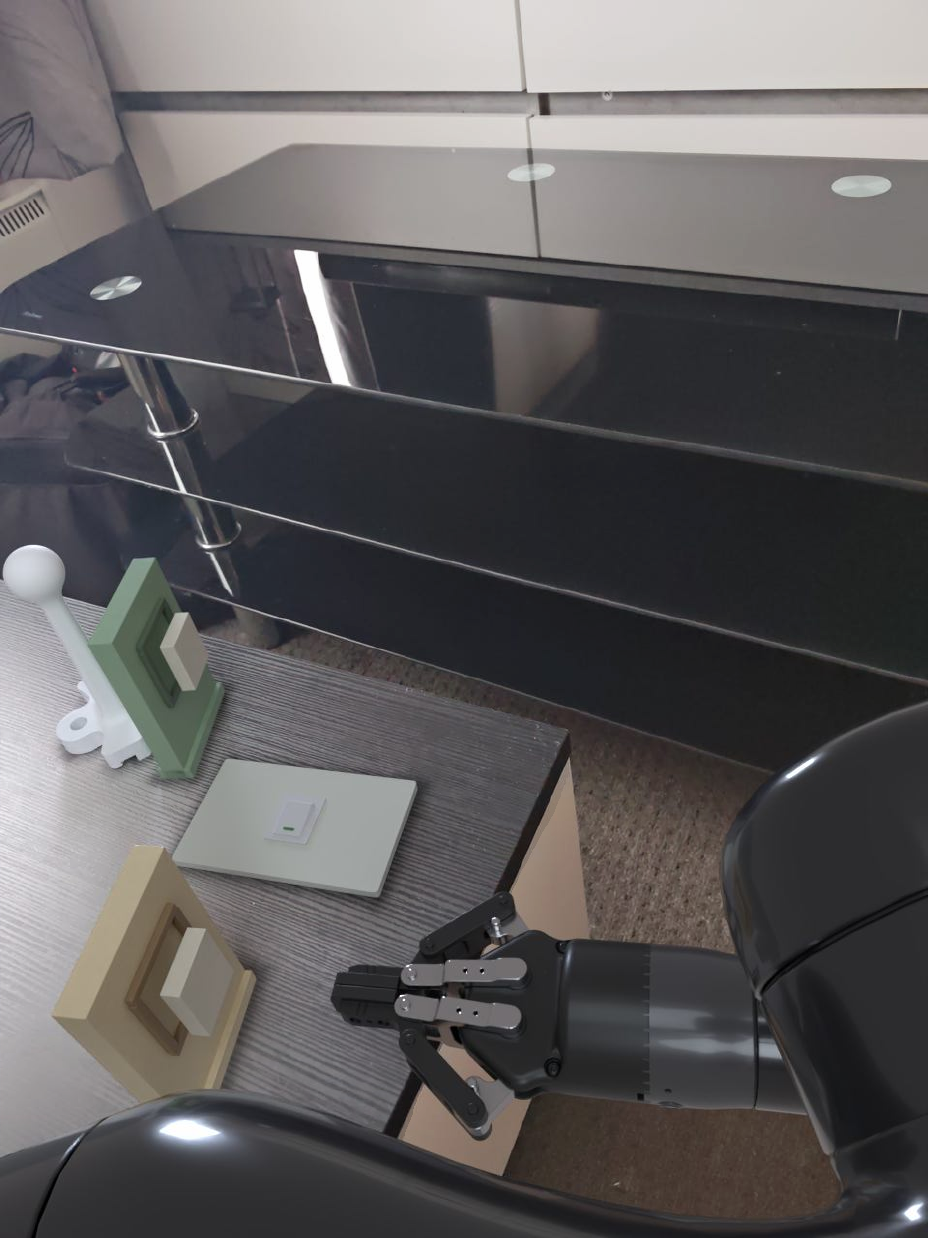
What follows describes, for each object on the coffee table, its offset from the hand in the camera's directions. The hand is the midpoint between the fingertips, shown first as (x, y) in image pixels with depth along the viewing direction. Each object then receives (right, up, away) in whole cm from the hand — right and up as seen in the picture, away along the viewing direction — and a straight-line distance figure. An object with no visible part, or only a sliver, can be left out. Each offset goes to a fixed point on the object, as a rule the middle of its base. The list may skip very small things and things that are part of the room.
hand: (336, 993), depth 51 cm
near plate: (-8, -7, +9) cm, 14 cm away
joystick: (-25, +10, +33) cm, 43 cm away
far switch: (-15, +16, +25) cm, 34 cm away
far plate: (-16, +11, +31) cm, 36 cm away
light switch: (-6, +4, +21) cm, 23 cm away
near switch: (-8, -2, +4) cm, 9 cm away
